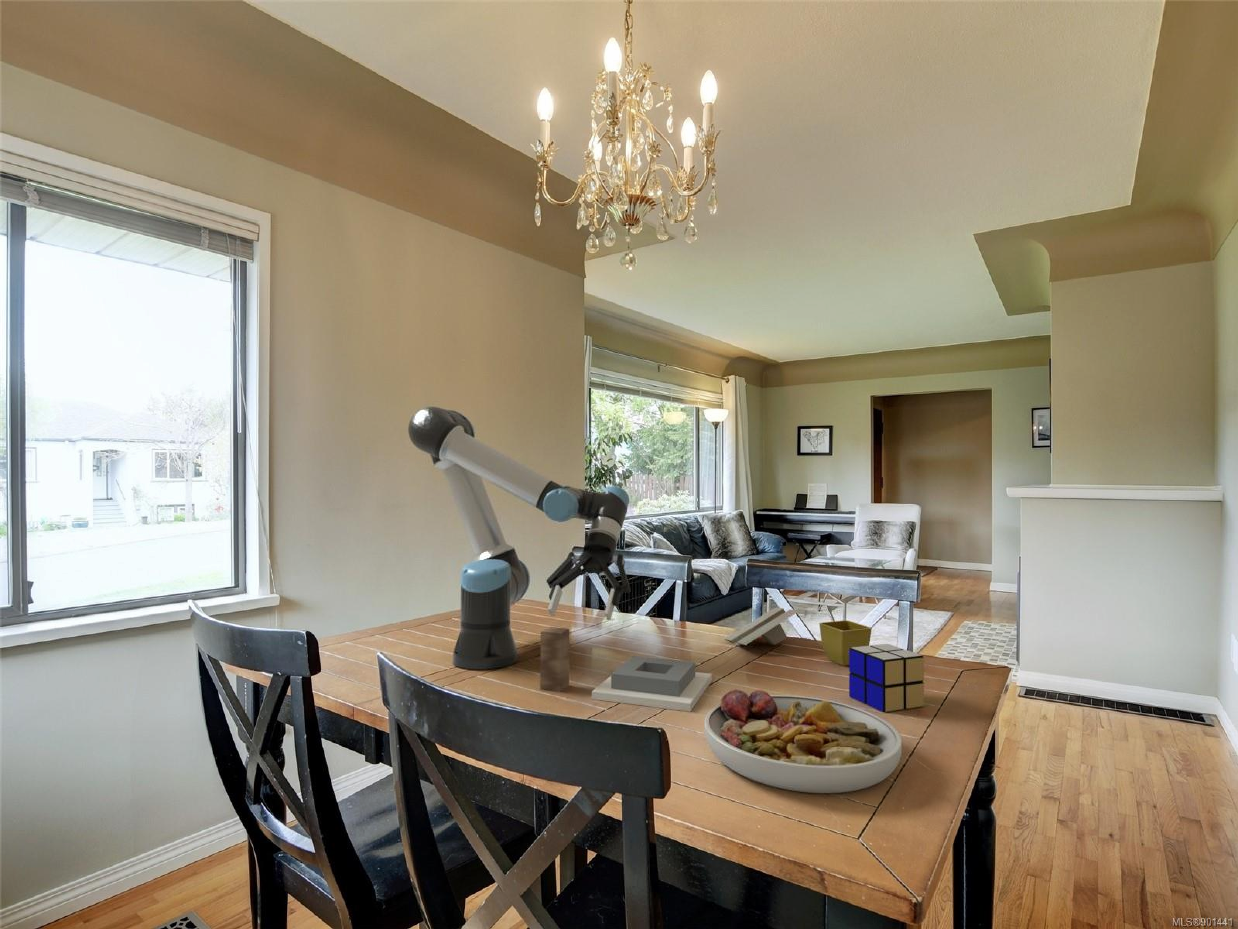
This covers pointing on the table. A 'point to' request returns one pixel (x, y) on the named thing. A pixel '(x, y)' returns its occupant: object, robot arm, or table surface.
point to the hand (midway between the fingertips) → (578, 615)
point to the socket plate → (655, 698)
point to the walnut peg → (554, 659)
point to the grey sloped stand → (763, 628)
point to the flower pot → (843, 639)
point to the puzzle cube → (886, 677)
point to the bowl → (802, 742)
